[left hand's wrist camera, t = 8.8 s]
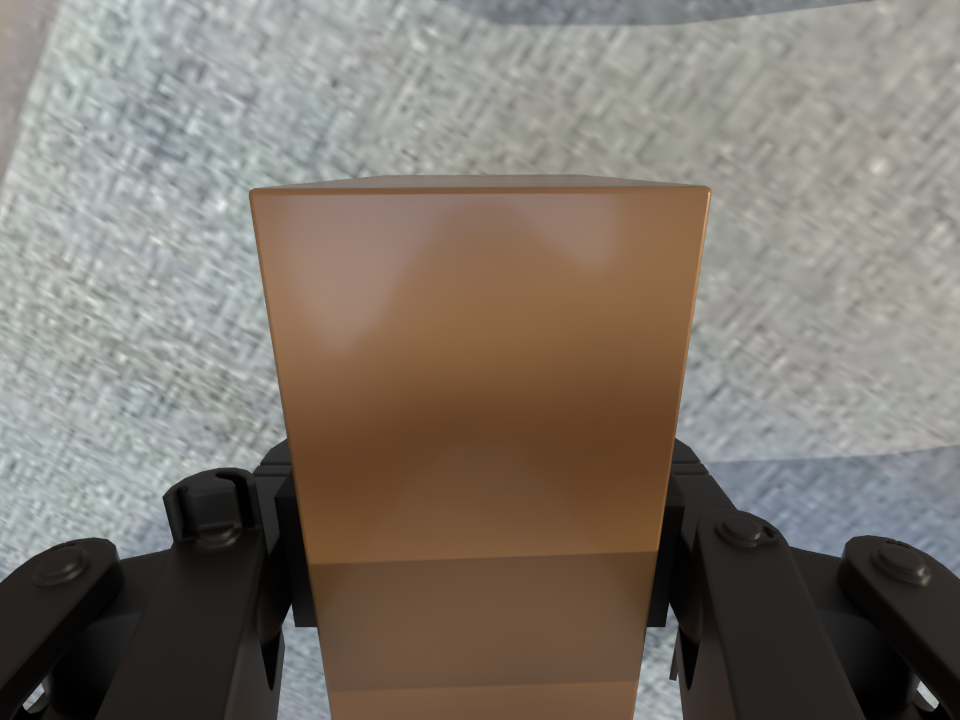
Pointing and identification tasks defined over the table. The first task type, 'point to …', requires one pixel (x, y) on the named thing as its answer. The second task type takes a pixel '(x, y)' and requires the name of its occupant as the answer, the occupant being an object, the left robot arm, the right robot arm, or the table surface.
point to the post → (481, 429)
